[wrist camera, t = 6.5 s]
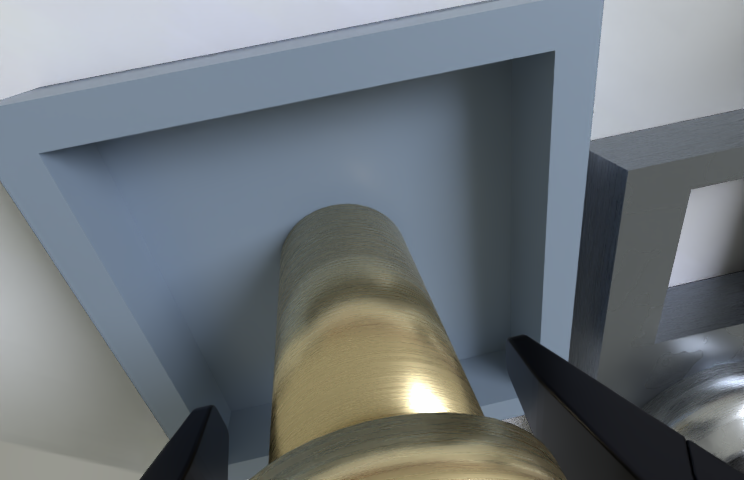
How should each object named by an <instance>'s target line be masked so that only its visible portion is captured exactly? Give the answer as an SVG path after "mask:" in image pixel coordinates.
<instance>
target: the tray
mask: <svg viewBox="0 0 744 480" xmlns="http://www.w3.org/2000/svg"><path fill="white" fill-rule="evenodd" d="M603 6H604V0H488V1H482V2H477V3H472V4H467V5H462V6H457V7H451V8H446V9H441V10H436V11H431V12H426V13H420V14H415V15H410V16H405V17H400V18H395V19H389V20H384V21H379V22H374V23H369V24H364V25H359V26H353V27H348V28H343V29H338V30H333V31H328V32H322V33H317V34H312V35H307V36H302V37H297V38H291V39H286V40H281V41H276V42H271V43H266V44H260V45H255V46H250V47H245V48H240V49H235V50H230V51H224V52H219V53H214V54H209V55H204V56H199V57H193V58H188V59H183V60H178V61H173V62H168V63H162V64H157V65H152V66H147V67H142V68H137V69H131V70H126V71H121V72H116V73H111V74H106V75H100V76H95V77H90V78H85V79H80V80H75V81H70V82H64V83H59V84H54V85H49V86H44V87H39V88H36V89H33V90H30V91H27V92H24V93H21V94H18V95H15V96H12V97H9V98H6V99H3V100H0V181H1V183H2V184H3V186H4V187H5V189H6V190H7V192H8V193H9V195H10V196H11V198H12V200H13V201H14V203H15V204H16V206H17V207H18V209H19V210H20V212H21V213H22V215H23V216H24V218H25V219H26V221H27V222H28V224H29V226H30V227H31V229H32V230H33V232H34V233H35V235H36V236H37V238H38V239H39V241H40V242H41V244H42V245H43V247H44V248H45V250H46V252H47V253H48V255H49V256H50V258H51V259H52V261H53V262H54V264H55V265H56V267H57V268H58V270H59V271H60V273H61V274H62V276H63V278H64V279H65V281H66V282H67V284H68V285H69V287H70V288H71V290H72V291H73V293H74V294H75V296H76V297H77V299H78V300H79V302H80V303H81V305H82V307H83V308H84V310H85V311H86V313H87V314H88V316H89V317H90V319H91V320H92V322H93V323H94V325H95V326H96V328H97V329H98V331H99V333H100V334H101V336H102V337H103V339H104V340H105V342H106V343H107V345H108V346H109V348H110V349H111V351H112V352H113V354H114V355H115V357H116V359H117V360H118V362H119V363H120V365H121V366H122V368H123V369H124V371H125V372H126V374H127V375H128V377H129V378H130V380H131V381H132V383H133V385H134V386H135V388H136V389H137V391H138V392H139V394H140V395H141V397H142V398H143V400H144V401H145V403H146V404H147V406H148V407H149V409H150V411H151V412H152V414H153V415H154V417H155V418H156V420H157V421H158V423H159V424H160V426H161V427H162V429H163V430H164V432H165V433H166V435H167V437H168V438H169V440H170V439H171V438H172V436H173V435H174V434H175V433H176V431H177V430H178V429H179V427H180V426H181V425H182V423H183V422H184V421H185V419H186V418H187V417H188V415H189V414H190V413H191V412H192V411H193V410H194V409H195V408H198V407H202V406H207V405H214V406H216V408H217V409H218V411H219V413H220V415H221V417H222V419H223V421H224V422H225V424H226V426H227V429H228V433H229V459H228V480H247V479H250V478H252V477H253V476H254V475H255V474H257V473H258V472H259V471H261V470H262V469H263V468H264V467H266V466H267V465H268V461H269V444H270V427H271V410H272V394H273V377H274V360H275V343H276V326H277V309H278V292H279V276H280V259H281V251H282V247H283V244H284V242H285V239H286V238H287V236H288V234H289V233H290V231H291V230H292V229H293V227H294V226H295V225H296V224H297V223H298V222H299V221H300V220H302V219H303V218H304V217H306V216H307V215H309V214H311V213H312V212H314V211H316V210H319V209H321V208H324V207H327V206H331V205H337V204H358V205H363V206H367V207H370V208H373V209H375V210H377V211H379V212H381V213H383V214H384V215H385V216H387V217H388V218H389V219H390V220H391V221H393V222H394V224H395V225H396V226H397V227H398V229H399V231H400V232H401V234H402V236H403V238H404V241H405V243H406V245H407V247H408V249H409V252H410V254H411V256H412V258H413V260H414V263H415V265H416V267H417V269H418V271H419V273H420V276H421V278H422V280H423V282H424V284H425V287H426V289H427V291H428V293H429V295H430V298H431V300H432V302H433V304H434V306H435V309H436V311H437V313H438V315H439V317H440V320H441V322H442V324H443V326H444V328H445V330H446V333H447V335H448V337H449V339H450V341H451V344H452V346H453V348H454V350H455V352H456V355H457V357H458V359H459V361H460V363H461V366H462V368H463V370H464V372H465V374H466V377H467V379H468V381H469V383H470V385H471V388H472V390H473V392H474V394H475V396H476V398H477V401H478V403H479V405H480V407H481V409H482V412H483V414H484V416H485V417H490V418H495V419H498V420H505V419H509V418H513V417H518V416H522V415H525V414H524V411H523V409H522V406H521V404H520V401H519V399H518V397H517V394H516V392H515V389H514V387H513V385H512V382H511V380H510V377H509V375H508V372H507V368H506V340H507V338H509V337H513V336H517V335H522V334H524V335H527V336H529V337H531V338H532V339H534V340H535V341H537V342H538V343H540V344H541V345H543V346H545V347H546V348H548V349H549V350H551V351H552V352H554V353H555V354H557V355H559V356H560V357H562V358H563V359H565V360H566V361H568V359H569V349H570V339H571V328H572V318H573V308H574V298H575V288H576V278H577V268H578V258H579V248H580V238H581V228H582V218H583V208H584V198H585V187H586V177H587V167H588V157H589V147H590V137H591V127H592V117H593V107H594V97H595V87H596V77H597V67H598V57H599V46H600V36H601V26H602V16H603Z"/></svg>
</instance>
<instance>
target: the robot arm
mask: <svg viewBox="0 0 744 480" xmlns="http://www.w3.org/2000/svg"><path fill="white" fill-rule="evenodd" d="M506 368H507V372H508V375H509V377H510V380H511V382H512V385H513V387H514V389H515V392H516V394H517V397H518V399H519V401H520V404H521V406H522V409H523V411H524V414H525V416H526V418H527V421H528V423H529V426H530V428H531V430H532V433H533V435H534V436H535V437H536V438H537V439H539V440H540V441H541V442H543V444H544V445H545V446H546V447H547V448H548V449H549V450H550V452H551V453H552V454H553V456H554V458H555V460H556V461H557V463H558V465H559V467H560V468H561V470H562V472H563V474H564V476H565V477H566V479H567V480H744V473H742V472H740V471H739V470H737V469H735V468H734V467H732V466H731V465H729V464H727V463H726V462H724V461H723V460H721V459H719V458H718V457H716V456H714V455H713V454H711V453H710V452H708V451H707V450H705V449H703V448H702V447H700V446H699V445H697V444H696V443H694V442H693V441H691V440H686V439H685V437H684V436H683V435H681V434H680V433H678V432H677V431H675V430H674V429H672V428H670V427H669V426H667V425H666V424H664V423H663V422H661V421H660V420H658V419H656V418H655V417H653V416H652V415H650V414H649V413H647V412H646V411H644V410H642V409H641V408H639V407H638V406H636V405H635V404H633V403H632V402H630V401H628V400H627V399H625V398H624V397H622V396H621V395H619V394H618V393H616V392H614V391H613V390H611V389H610V388H608V387H607V386H605V385H604V384H602V383H600V382H599V381H597V380H596V379H594V378H593V377H591V376H590V375H588V374H586V373H585V372H583V371H582V370H580V369H579V368H577V367H576V366H574V365H572V364H571V363H569V362H568V361H566V360H565V359H563V358H562V357H560V356H559V355H557V354H555V353H554V352H552V351H551V350H549V349H548V348H546V347H545V346H543V345H541V344H540V343H538V342H537V341H535V340H534V339H532V338H531V337H529V336H527V335H524V334H522V335H517V336H513V337H509V338H507V340H506ZM228 459H229V433H228V429H227V426H226V424H225V422H224V421H223V419H222V417H221V415H220V413H219V411H218V409H217V408H216V406H214V405H207V406H202V407H198V408H195V409H194V410H193V411H192V412H191V413H190V414H189V415H188V417H187V418H186V419H185V421H184V422H183V423H182V425H181V426H180V427H179V429H178V430H177V431H176V433H175V434H174V435H173V436H172V438H171V439H170V440H169V442H168V443H167V444H166V446H165V447H164V448H163V450H162V451H161V452H160V453H159V455H158V456H157V457H156V459H155V460H154V461H153V463H152V464H151V465H150V467H149V468H148V469H147V471H146V472H145V473H144V474H143V476H142V477H141V479H140V480H228Z"/></svg>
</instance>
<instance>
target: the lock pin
mask: <svg viewBox="0 0 744 480" xmlns="http://www.w3.org/2000/svg"><path fill="white" fill-rule="evenodd" d="M249 480H567V479H566V477H565V476H564V474H563V472H562V470H561V468H560V467H559V465H558V463H557V461H556V460H555V458H554V456H553V454H552V453H551V452H550V450H549V449H548V448H547V447H546V446H545V445H544V444H543V442H541V441H540V440H539V439H537V438H536V437H535V436H533V435H532V434H531V433H529V432H527V431H525V430H523V429H521V428H519V427H517V426H515V425H513V424H510V423H507V422H504V421H501V420H498V419H495V418H490V417H485V416H484V414H483V412H482V409H481V407H480V405H479V403H478V401H477V398H476V396H475V394H474V392H473V390H472V388H471V385H470V383H469V381H468V379H467V377H466V374H465V372H464V370H463V368H462V366H461V363H460V361H459V359H458V357H457V355H456V352H455V350H454V348H453V346H452V344H451V341H450V339H449V337H448V335H447V333H446V330H445V328H444V326H443V324H442V322H441V320H440V317H439V315H438V313H437V311H436V309H435V306H434V304H433V302H432V300H431V298H430V295H429V293H428V291H427V289H426V287H425V284H424V282H423V280H422V278H421V276H420V273H419V271H418V269H417V267H416V265H415V263H414V260H413V258H412V256H411V254H410V252H409V249H408V247H407V245H406V243H405V241H404V238H403V236H402V234H401V232H400V231H399V229H398V227H397V226H396V225H395V224H394V222H393V221H391V220H390V219H389V218H388V217H387V216H385V215H384V214H383V213H381V212H379V211H377V210H375V209H373V208H370V207H367V206H363V205H358V204H337V205H331V206H327V207H324V208H321V209H319V210H316V211H314V212H312V213H311V214H309V215H307V216H306V217H304V218H303V219H302V220H300V221H299V222H298V223H297V224H296V225H295V226H294V227H293V229H292V230H291V231H290V233H289V234H288V236H287V238H286V239H285V242H284V244H283V247H282V251H281V259H280V276H279V292H278V309H277V326H276V343H275V360H274V377H273V394H272V410H271V427H270V444H269V461H268V465H267V466H266V467H264V468H263V469H262V470H261V471H259V472H258V473H257V474H255V475H254V476H253V477H252V478H250V479H249Z"/></svg>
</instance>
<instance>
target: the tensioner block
mask: <svg viewBox="0 0 744 480" xmlns="http://www.w3.org/2000/svg"><path fill="white" fill-rule="evenodd" d="M741 178H744V109H740V110H736V111H731V112H726V113H721V114H717V115H712V116H707V117H702V118H697V119H693V120H688V121H683V122H678V123H673V124H669V125H664V126H659V127H654V128H649V129H645V130H640V131H635V132H630V133H626V134H621V135H616V136H611V137H606V138H602V139H597V140H592V141H590V147H589V157H588V167H587V177H586V187H585V198H584V208H583V218H582V228H581V238H580V248H579V258H578V268H577V278H576V288H575V298H574V308H573V318H572V328H571V339H570V349H569V359H568V362H569V363H571V364H572V365H574V366H576V367H577V368H579V369H580V370H582V371H583V372H585V373H586V374H588V375H590V376H591V377H593V378H594V379H596V380H597V381H599V382H600V383H602V384H604V385H605V386H607V387H608V388H610V389H611V390H613V391H614V392H616V393H618V394H619V395H621V396H622V397H624V398H625V399H627V400H628V401H630V402H632V403H633V404H635V405H636V406H638V407H639V408H641V409H642V410H644V411H646V412H647V413H649V414H650V415H652V416H653V417H655V418H656V419H658V420H660V421H661V422H663V423H664V424H666V425H667V426H669V427H670V428H672V429H674V430H675V431H677V432H678V433H680V434H681V435H683V436H684V437H685V439H686V440H691V441H693V442H694V443H696V444H697V445H699V446H700V447H702V448H703V449H705V450H707V451H708V452H710V453H711V454H713V455H714V456H716V457H718V458H719V459H721V460H723V461H724V462H726V463H727V464H729V465H731V466H732V467H734V468H735V469H737V470H739V471H740V472H742V473H744V271H741V272H737V273H732V274H728V275H723V276H719V277H715V278H710V279H706V280H701V281H697V282H692V283H688V284H683V285H679V286H674V287H670V288H668V284H669V280H670V276H671V272H672V267H673V263H674V259H675V255H676V251H677V246H678V242H679V238H680V234H681V229H682V225H683V221H684V217H685V213H686V208H687V204H688V200H689V196H690V191H691V189H695V188H700V187H704V186H709V185H713V184H718V183H723V182H727V181H732V180H737V179H741Z"/></svg>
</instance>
